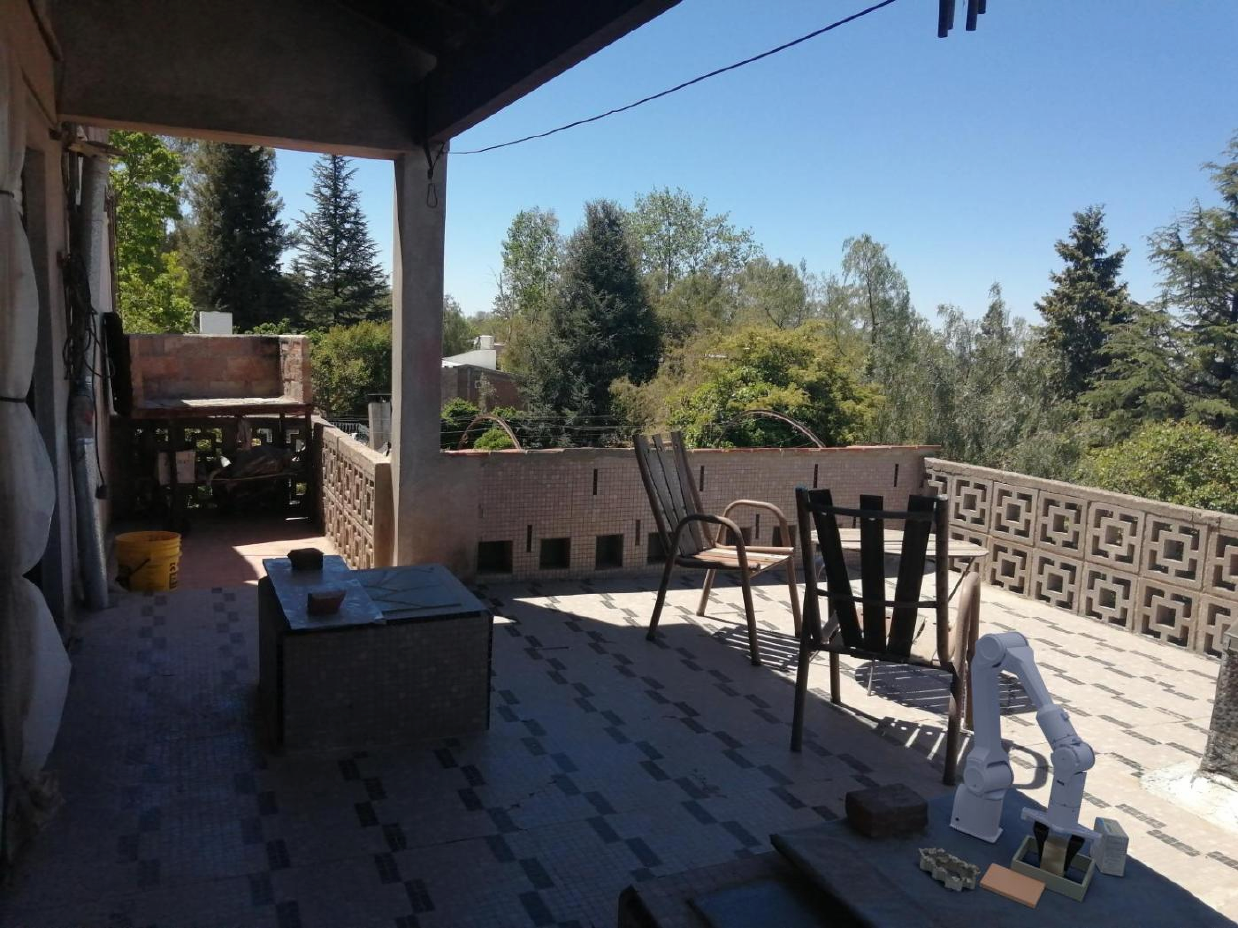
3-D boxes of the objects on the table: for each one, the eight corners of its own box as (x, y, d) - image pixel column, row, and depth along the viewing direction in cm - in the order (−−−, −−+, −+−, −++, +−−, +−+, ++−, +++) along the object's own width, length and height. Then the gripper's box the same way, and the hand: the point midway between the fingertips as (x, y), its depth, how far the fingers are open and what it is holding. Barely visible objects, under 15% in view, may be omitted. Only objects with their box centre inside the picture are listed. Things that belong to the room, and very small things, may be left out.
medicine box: (1122, 877, 188) (1130, 837, 187) (1099, 872, 189) (1107, 833, 188) (1110, 858, 196) (1117, 819, 195) (1088, 853, 197) (1095, 815, 196)
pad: (979, 885, 178) (979, 882, 178) (992, 866, 186) (992, 862, 186) (1034, 908, 172) (1035, 904, 172) (1045, 887, 181) (1045, 883, 180)
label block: (1038, 874, 185) (1044, 841, 185) (1044, 864, 190) (1049, 832, 189) (1060, 882, 183) (1066, 849, 182) (1065, 872, 187) (1071, 840, 187)
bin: (1009, 873, 184) (1012, 859, 184) (1025, 847, 196) (1027, 834, 195) (1081, 901, 177) (1084, 887, 176) (1093, 873, 188) (1095, 859, 188)
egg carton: (980, 890, 177) (984, 870, 177) (949, 894, 174) (953, 874, 174) (942, 860, 187) (945, 841, 186) (912, 863, 184) (916, 844, 184)
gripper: (1022, 793, 185) (1011, 857, 187) (1102, 821, 177) (1089, 887, 179) (1029, 783, 191) (1019, 844, 193) (1107, 809, 183) (1095, 873, 184)
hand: (1053, 864), depth 186 cm, fingers closed on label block, 4 cm apart
